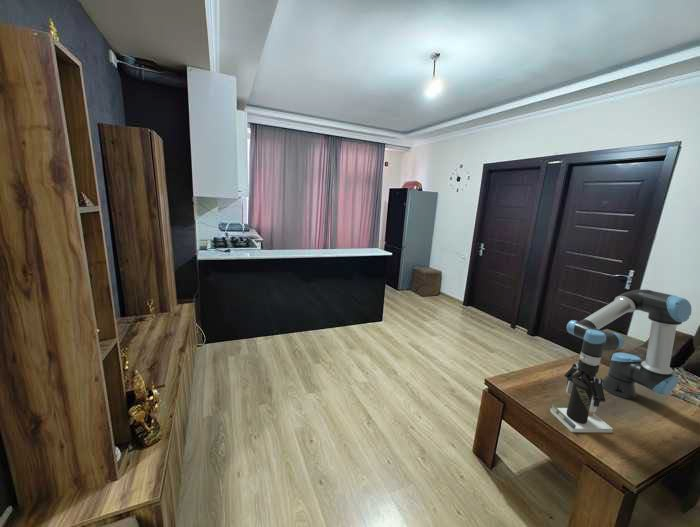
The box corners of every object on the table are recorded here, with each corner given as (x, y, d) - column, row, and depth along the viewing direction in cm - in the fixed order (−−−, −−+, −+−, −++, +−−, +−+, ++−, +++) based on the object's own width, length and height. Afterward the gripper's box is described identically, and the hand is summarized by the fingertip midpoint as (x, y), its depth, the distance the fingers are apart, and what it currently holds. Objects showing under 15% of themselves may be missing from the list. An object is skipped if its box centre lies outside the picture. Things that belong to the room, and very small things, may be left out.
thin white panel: (586, 411, 148) (587, 405, 147) (611, 432, 134) (613, 425, 134) (549, 411, 147) (550, 404, 146) (571, 432, 133) (573, 425, 133)
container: (576, 424, 136) (584, 387, 132) (560, 411, 144) (568, 376, 141) (592, 424, 136) (601, 387, 133) (576, 411, 145) (584, 375, 141)
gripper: (561, 349, 147) (553, 385, 151) (606, 377, 122) (595, 420, 126) (575, 349, 147) (567, 385, 151) (622, 377, 122) (611, 420, 127)
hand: (580, 401), depth 139 cm, fingers open, 13 cm apart
